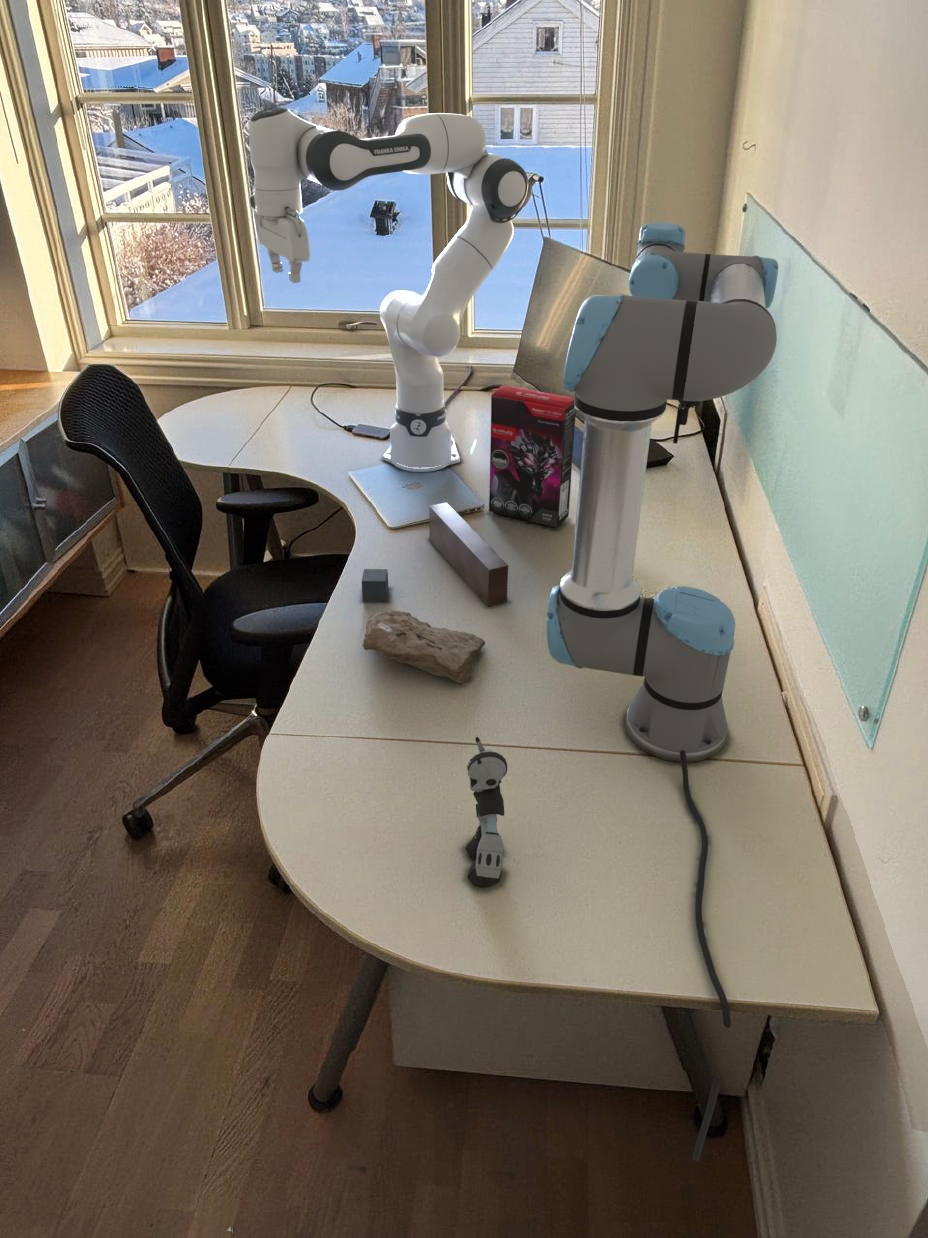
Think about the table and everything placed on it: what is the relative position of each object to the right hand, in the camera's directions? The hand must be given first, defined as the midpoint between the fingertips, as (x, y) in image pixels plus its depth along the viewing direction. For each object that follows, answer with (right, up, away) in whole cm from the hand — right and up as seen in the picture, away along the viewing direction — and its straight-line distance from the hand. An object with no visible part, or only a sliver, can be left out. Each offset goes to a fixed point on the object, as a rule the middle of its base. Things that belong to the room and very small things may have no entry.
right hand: (638, 437), depth 170 cm
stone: (-40, -40, -12) cm, 58 cm away
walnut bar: (-32, -24, +13) cm, 42 cm away
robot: (-29, -66, -49) cm, 87 cm away
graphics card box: (-18, -11, +32) cm, 39 cm away
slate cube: (-49, -29, +5) cm, 57 cm away
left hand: (-68, +36, +17) cm, 79 cm away
